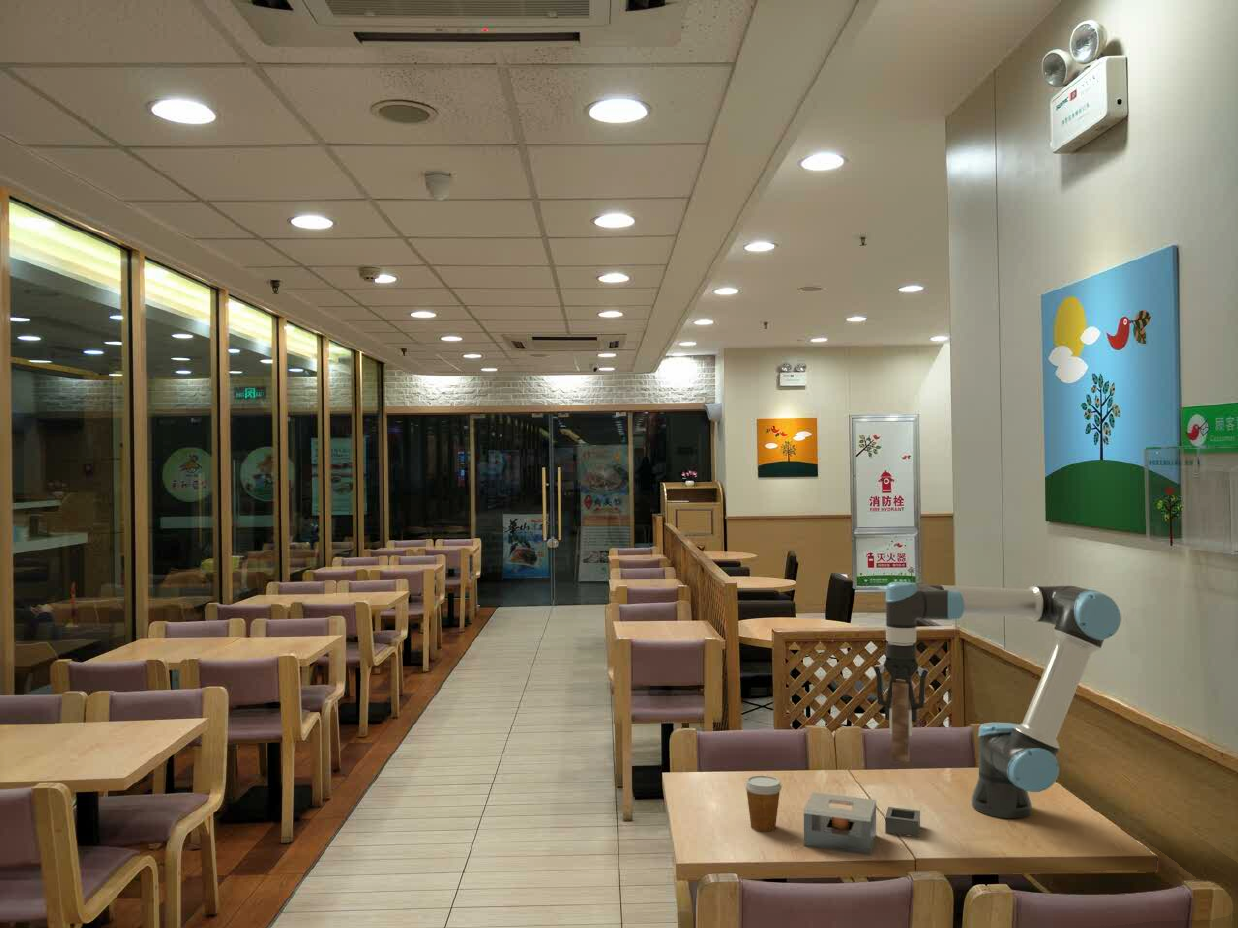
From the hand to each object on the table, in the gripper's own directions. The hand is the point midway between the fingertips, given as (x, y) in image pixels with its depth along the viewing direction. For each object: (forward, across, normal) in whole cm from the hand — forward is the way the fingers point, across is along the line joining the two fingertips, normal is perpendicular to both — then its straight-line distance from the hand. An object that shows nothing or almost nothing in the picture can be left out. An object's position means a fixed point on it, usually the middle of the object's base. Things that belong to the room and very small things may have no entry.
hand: (900, 733), depth 244 cm
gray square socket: (+25, 0, 0) cm, 25 cm away
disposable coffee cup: (+25, +34, +11) cm, 43 cm away
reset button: (+22, +14, +13) cm, 29 cm away
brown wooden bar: (+7, 0, 0) cm, 7 cm away
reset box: (+25, +14, +13) cm, 31 cm away
